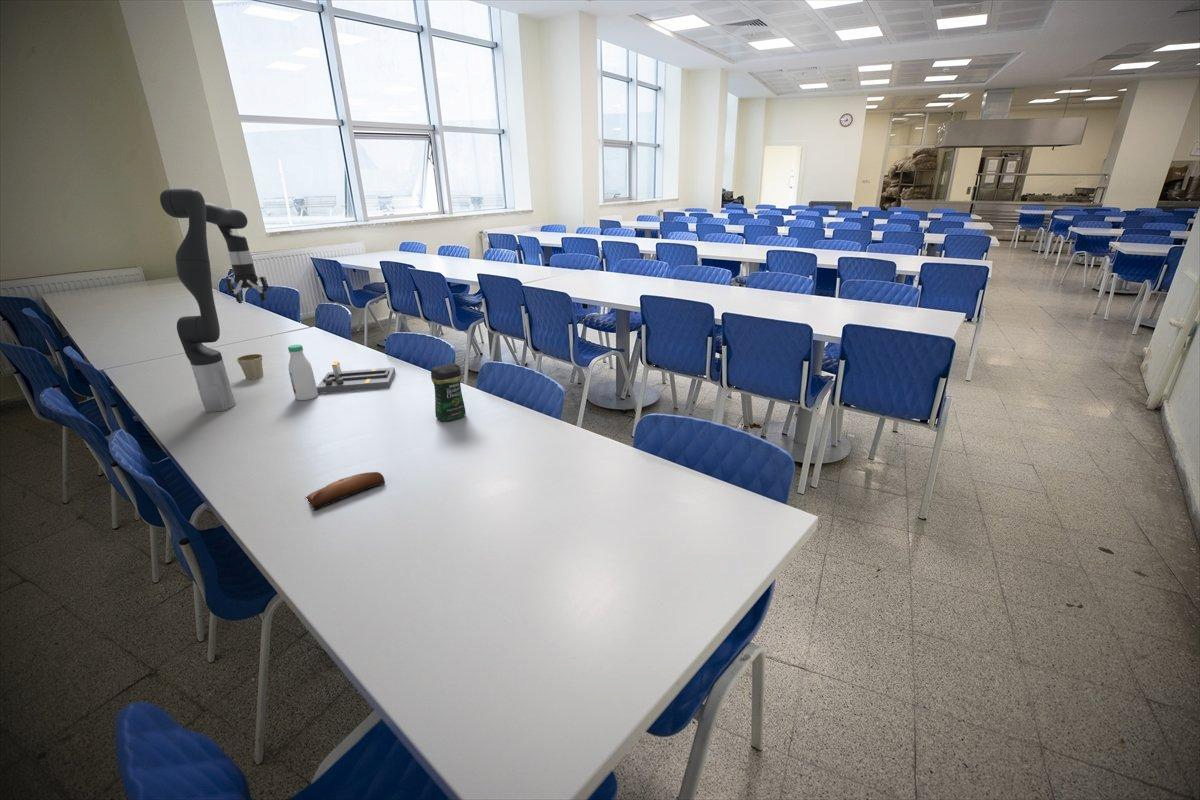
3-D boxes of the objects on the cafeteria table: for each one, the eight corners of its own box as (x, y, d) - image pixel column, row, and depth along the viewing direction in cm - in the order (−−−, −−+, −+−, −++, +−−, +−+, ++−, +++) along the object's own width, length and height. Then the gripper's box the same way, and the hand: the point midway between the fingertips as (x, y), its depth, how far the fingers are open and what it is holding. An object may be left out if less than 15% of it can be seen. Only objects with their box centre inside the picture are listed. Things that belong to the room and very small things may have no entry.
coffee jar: (443, 424, 177) (436, 371, 170) (433, 417, 182) (425, 365, 175) (469, 416, 183) (464, 364, 176) (459, 409, 188) (452, 359, 181)
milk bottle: (322, 393, 204) (311, 343, 197) (310, 401, 197) (298, 349, 189) (303, 393, 205) (291, 342, 197) (290, 400, 198) (277, 348, 190)
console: (389, 387, 209) (387, 377, 208) (317, 393, 204) (315, 383, 203) (395, 372, 226) (393, 363, 224) (329, 378, 221) (327, 368, 219)
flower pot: (259, 381, 218) (253, 360, 215) (236, 381, 219) (230, 360, 215) (272, 373, 227) (267, 353, 224) (250, 373, 227) (245, 354, 224)
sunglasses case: (372, 472, 148) (373, 458, 143) (384, 491, 145) (386, 478, 141) (302, 498, 136) (302, 483, 131) (314, 519, 133) (314, 505, 129)
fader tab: (339, 379, 211) (336, 364, 208) (334, 379, 210) (331, 365, 208) (342, 375, 215) (339, 361, 212) (337, 376, 214) (334, 361, 212)
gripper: (218, 264, 211) (229, 305, 217) (258, 262, 214) (268, 303, 220) (226, 262, 218) (236, 301, 224) (264, 260, 221) (274, 299, 227)
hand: (252, 302), depth 222 cm, fingers open, 8 cm apart
